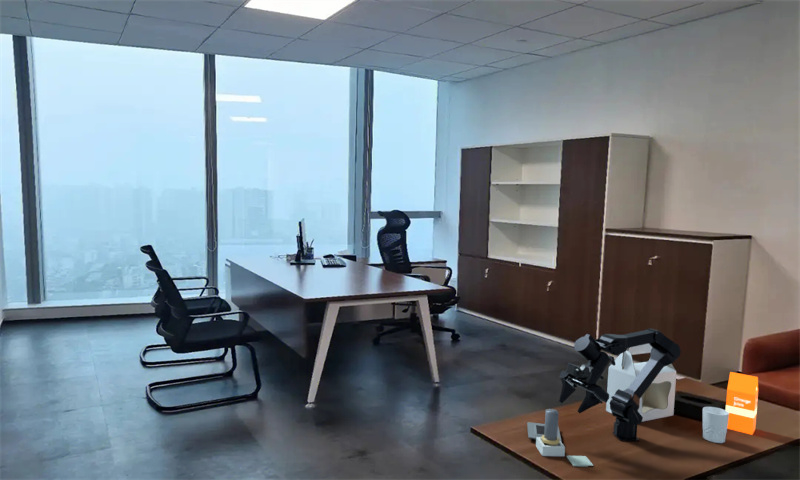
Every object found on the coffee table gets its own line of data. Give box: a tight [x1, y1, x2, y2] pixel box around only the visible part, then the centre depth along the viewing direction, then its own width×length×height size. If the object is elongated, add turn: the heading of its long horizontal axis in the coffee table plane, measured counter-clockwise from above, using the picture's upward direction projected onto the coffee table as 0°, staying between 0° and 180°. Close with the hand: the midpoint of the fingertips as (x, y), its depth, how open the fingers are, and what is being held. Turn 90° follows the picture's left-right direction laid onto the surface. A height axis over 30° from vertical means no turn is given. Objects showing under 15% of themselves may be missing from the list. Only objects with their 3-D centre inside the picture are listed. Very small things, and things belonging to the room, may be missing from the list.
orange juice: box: [725, 371, 759, 436], centre depth 199 cm, size 8×9×20 cm
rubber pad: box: [566, 455, 594, 467], centre depth 168 cm, size 6×6×1 cm
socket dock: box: [535, 437, 566, 457], centre depth 174 cm, size 7×7×3 cm
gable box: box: [605, 344, 677, 423], centre depth 210 cm, size 22×13×28 cm, turn 116°
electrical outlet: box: [526, 421, 562, 442], centre depth 186 cm, size 13×10×2 cm
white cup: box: [702, 406, 729, 444], centre depth 188 cm, size 8×8×10 cm
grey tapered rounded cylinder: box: [541, 408, 560, 446], centre depth 174 cm, size 6×6×13 cm
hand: (569, 407), depth 178 cm, fingers open, 9 cm apart
